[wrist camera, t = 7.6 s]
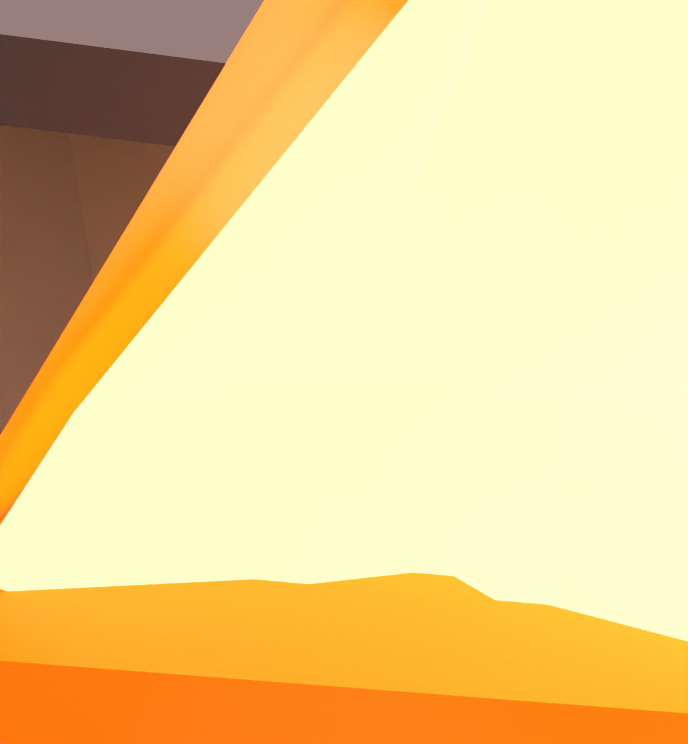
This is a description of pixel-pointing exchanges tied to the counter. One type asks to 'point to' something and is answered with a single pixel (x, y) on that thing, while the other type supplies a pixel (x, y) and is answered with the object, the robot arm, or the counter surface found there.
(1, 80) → the under-counter cabinet
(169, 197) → the orange juice
